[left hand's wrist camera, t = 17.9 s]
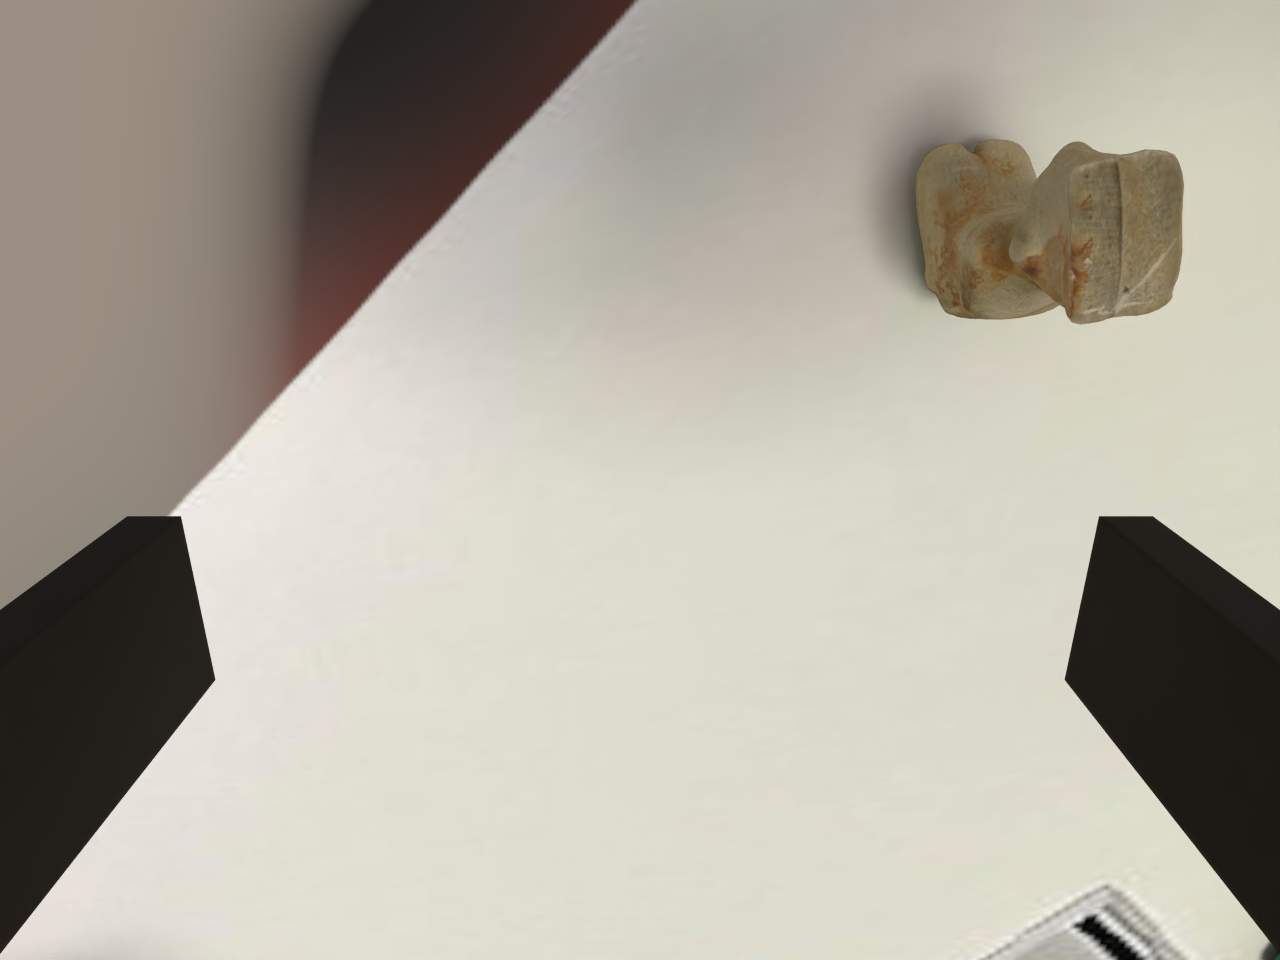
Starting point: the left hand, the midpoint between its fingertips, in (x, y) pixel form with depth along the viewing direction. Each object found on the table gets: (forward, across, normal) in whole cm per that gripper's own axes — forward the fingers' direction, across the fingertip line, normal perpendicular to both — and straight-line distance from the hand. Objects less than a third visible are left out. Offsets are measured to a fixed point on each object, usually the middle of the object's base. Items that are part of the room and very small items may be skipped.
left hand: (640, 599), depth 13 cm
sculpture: (+31, +15, +3) cm, 34 cm away
